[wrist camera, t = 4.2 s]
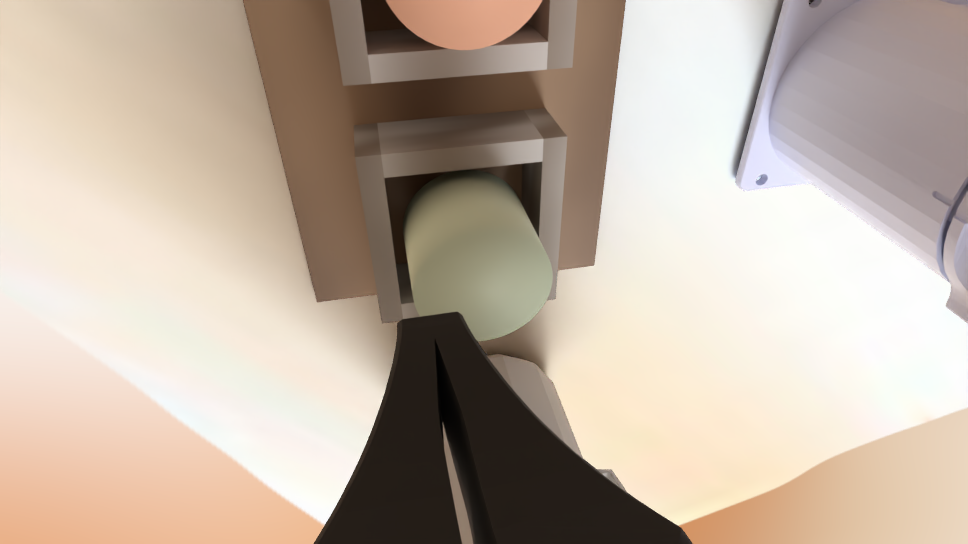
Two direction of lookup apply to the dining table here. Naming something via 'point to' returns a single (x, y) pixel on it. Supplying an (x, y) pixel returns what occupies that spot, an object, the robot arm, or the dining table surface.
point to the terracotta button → (464, 20)
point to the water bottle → (545, 406)
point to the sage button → (475, 253)
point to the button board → (433, 129)
